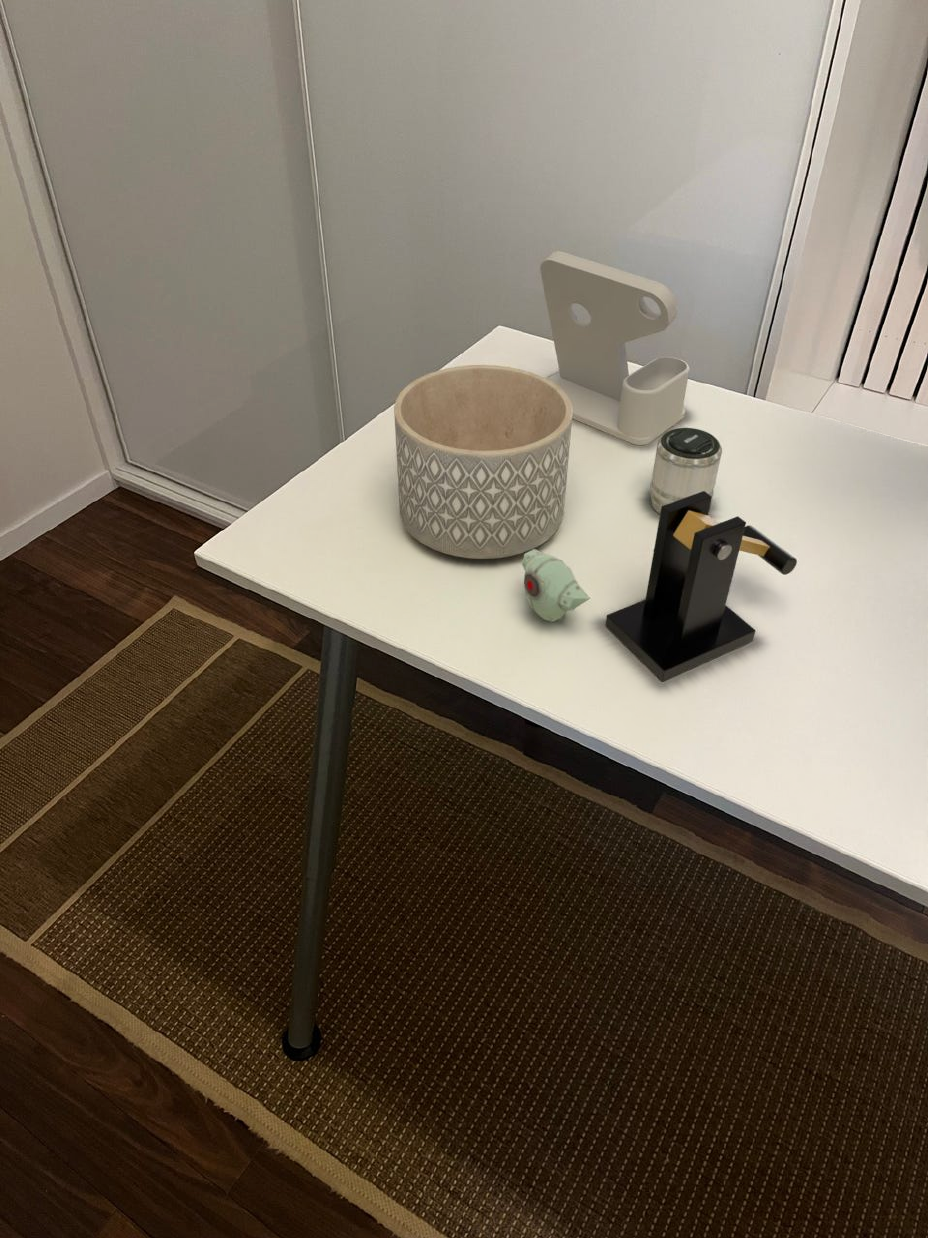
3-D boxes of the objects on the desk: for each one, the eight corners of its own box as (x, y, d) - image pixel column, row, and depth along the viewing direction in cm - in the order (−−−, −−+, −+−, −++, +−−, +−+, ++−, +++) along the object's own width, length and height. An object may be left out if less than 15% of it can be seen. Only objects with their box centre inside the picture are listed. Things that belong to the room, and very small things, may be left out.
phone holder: (691, 414, 110) (720, 262, 98) (644, 449, 105) (667, 291, 92) (572, 368, 119) (584, 222, 107) (522, 398, 113) (529, 247, 101)
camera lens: (721, 505, 97) (736, 438, 91) (686, 530, 93) (699, 463, 88) (671, 480, 100) (683, 415, 95) (635, 504, 97) (645, 438, 91)
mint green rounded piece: (591, 636, 82) (599, 576, 77) (553, 654, 80) (559, 593, 76) (537, 586, 87) (542, 527, 82) (501, 602, 85) (503, 542, 81)
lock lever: (742, 545, 84) (757, 522, 83) (786, 579, 81) (803, 556, 80) (659, 524, 76) (674, 499, 75) (704, 561, 73) (721, 535, 72)
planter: (496, 457, 103) (500, 349, 95) (596, 529, 94) (610, 416, 85) (369, 507, 96) (360, 395, 88) (462, 592, 86) (463, 475, 78)
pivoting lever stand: (692, 589, 87) (718, 472, 78) (753, 641, 82) (787, 521, 73) (604, 625, 83) (621, 506, 74) (662, 682, 78) (686, 561, 69)
